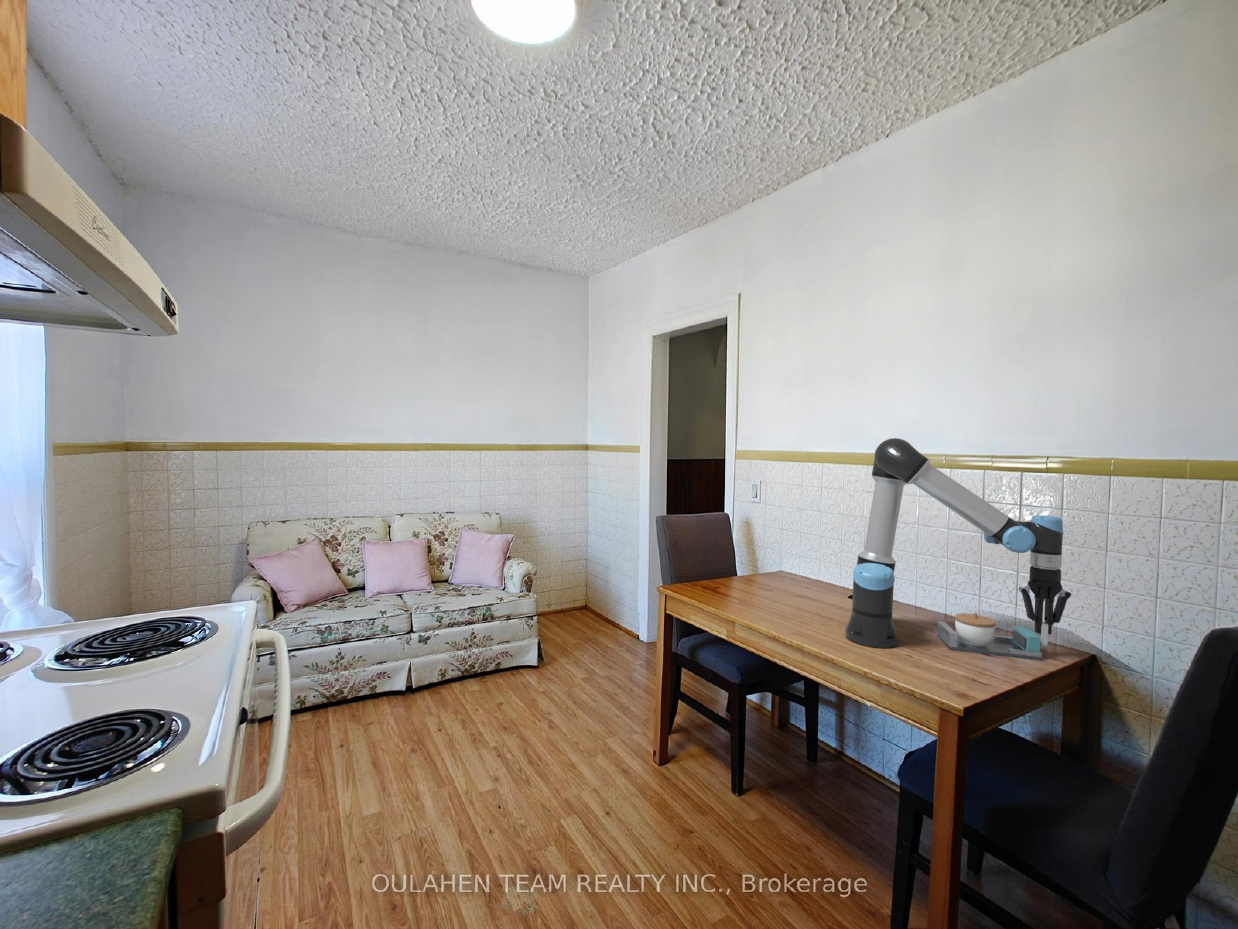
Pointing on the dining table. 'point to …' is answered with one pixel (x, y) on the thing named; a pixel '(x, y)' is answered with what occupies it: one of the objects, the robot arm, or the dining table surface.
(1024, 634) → the block
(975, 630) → the lidded jar
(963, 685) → the dining table surface
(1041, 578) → the robot arm
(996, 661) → the dining table surface
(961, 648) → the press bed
